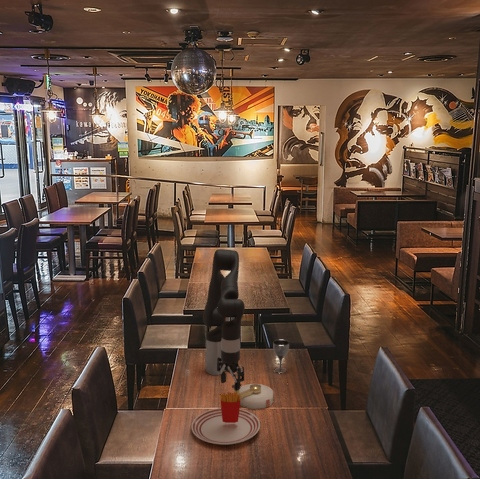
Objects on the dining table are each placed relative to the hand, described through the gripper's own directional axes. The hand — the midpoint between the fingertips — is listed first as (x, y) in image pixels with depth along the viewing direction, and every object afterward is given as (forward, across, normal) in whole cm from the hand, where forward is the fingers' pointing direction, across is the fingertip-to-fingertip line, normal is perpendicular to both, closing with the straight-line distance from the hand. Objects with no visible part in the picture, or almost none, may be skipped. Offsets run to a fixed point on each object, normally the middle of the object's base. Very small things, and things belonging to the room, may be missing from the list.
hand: (230, 386), depth 214 cm
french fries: (+15, 0, 0) cm, 15 cm away
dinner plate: (+18, -1, +3) cm, 19 cm away
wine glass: (+18, +25, -54) cm, 62 cm away
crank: (+13, +10, -18) cm, 24 cm away
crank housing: (+18, +10, -23) cm, 31 cm away
